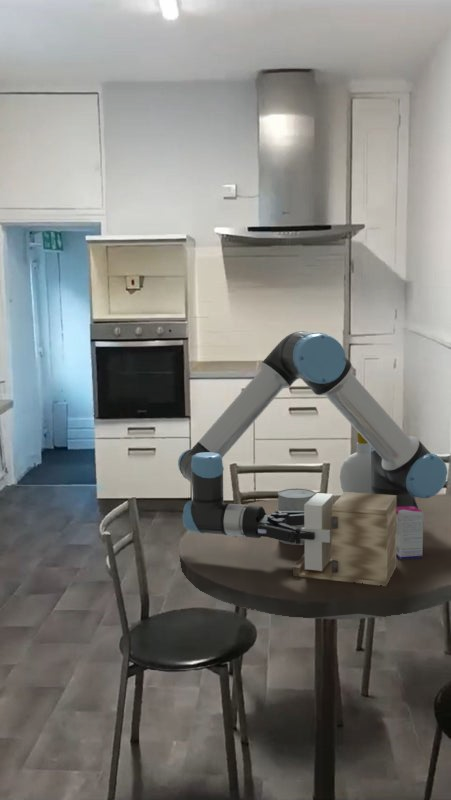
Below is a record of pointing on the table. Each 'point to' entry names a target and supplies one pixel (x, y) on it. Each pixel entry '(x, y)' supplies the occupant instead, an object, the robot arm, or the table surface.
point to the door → (318, 518)
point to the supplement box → (409, 532)
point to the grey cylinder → (294, 504)
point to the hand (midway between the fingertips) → (336, 528)
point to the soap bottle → (357, 469)
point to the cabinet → (359, 540)
